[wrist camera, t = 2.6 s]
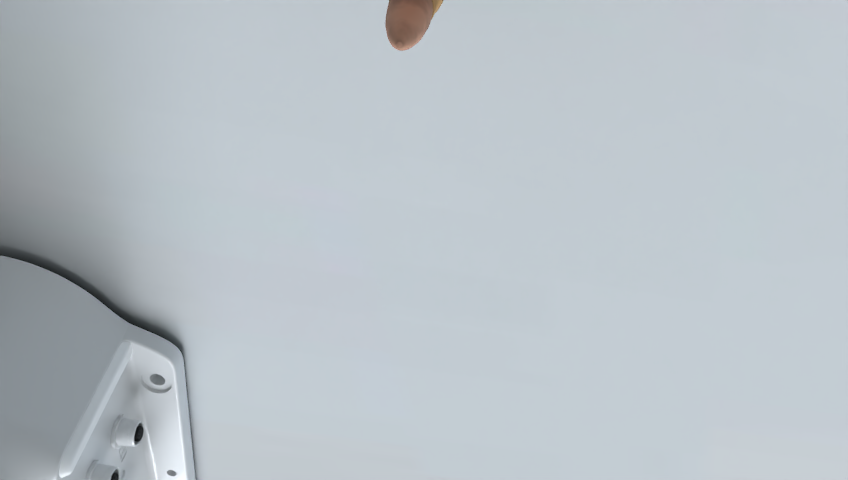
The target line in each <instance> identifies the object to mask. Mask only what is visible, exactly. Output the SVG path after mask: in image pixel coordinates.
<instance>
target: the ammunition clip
mask: <svg viewBox="0 0 848 480" xmlns="http://www.w3.org/2000/svg"><path fill="white" fill-rule="evenodd" d="M442 2H443V0H389V5H388V9H387V14H386V31H387V36H388V39H389V41H390V43H391V45H392V46H393V47H394V48H395V49H397V50H407V49H410V48H411V47H413V46H414V45H415V44H417V43H418V42H419V41H420V40H421V38H422V37H423V35H424V34H425V32H426V30H427V29H428V27H429V25H430V21H431V19H432V18H433V15H434V13H436V12H437V10H438V9H439V7H440V6H441V4H442Z"/></svg>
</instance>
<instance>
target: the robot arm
mask: <svg viewBox="0 0 848 480" xmlns="http://www.w3.org/2000/svg"><path fill="white" fill-rule="evenodd" d="M0 480H195V469H194V459H193V449H192V439H191V429H190V419H189V409H188V399H187V389H186V379H185V369H184V360H183V356H182V353H181V352H180V350H179V349H178V348H177V347H176V346H175V345H174V344H172V343H171V342H169V341H167V340H166V339H164V338H162V337H160V336H158V335H156V334H153V333H151V332H149V331H146V330H144V329H142V328H139V327H137V326H134V325H132V324H130V323H128V322H127V321H125V320H123V319H122V318H120V317H119V316H118V315H116V314H115V313H114V312H113V311H111V310H110V309H109V308H108V307H106V306H105V305H104V304H103V303H101V302H100V301H99V300H98V299H96V298H95V297H94V296H92V295H91V294H89V293H88V292H87V291H85V290H84V289H82V288H81V287H79V286H77V285H76V284H74V283H72V282H71V281H69V280H67V279H65V278H63V277H61V276H59V275H57V274H55V273H53V272H51V271H49V270H46V269H44V268H41V267H39V266H36V265H33V264H31V263H28V262H24V261H21V260H18V259H14V258H10V257H6V256H0Z"/></svg>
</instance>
